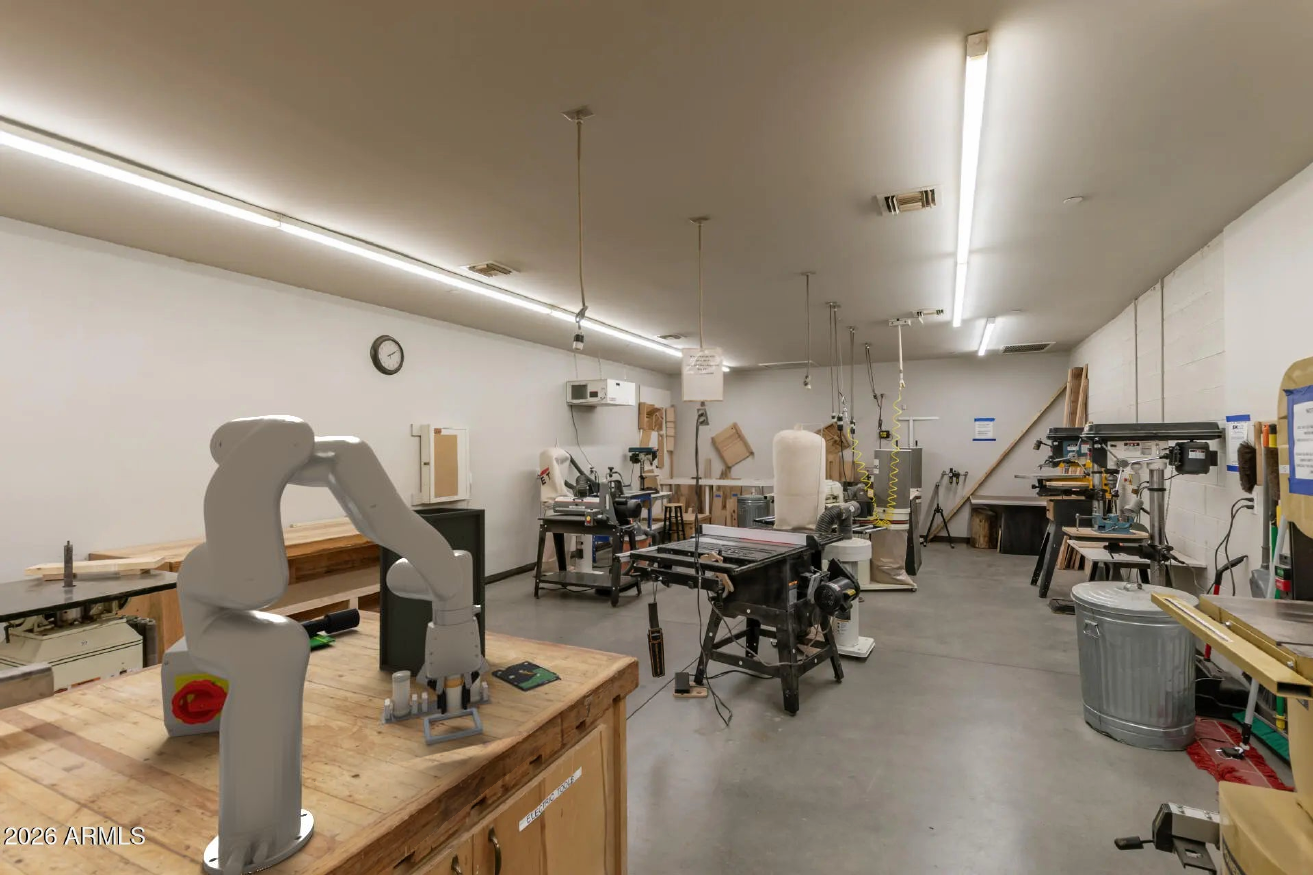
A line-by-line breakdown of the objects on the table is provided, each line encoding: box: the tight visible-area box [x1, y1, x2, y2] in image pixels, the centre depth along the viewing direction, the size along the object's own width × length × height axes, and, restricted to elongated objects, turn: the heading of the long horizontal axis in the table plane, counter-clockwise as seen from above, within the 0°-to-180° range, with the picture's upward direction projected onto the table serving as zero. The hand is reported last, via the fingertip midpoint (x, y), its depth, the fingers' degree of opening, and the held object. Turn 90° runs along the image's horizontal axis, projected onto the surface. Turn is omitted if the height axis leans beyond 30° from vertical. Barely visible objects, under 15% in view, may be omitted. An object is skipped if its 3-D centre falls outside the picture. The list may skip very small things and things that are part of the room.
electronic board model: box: [297, 607, 361, 649], centre depth 163 cm, size 30×7×15 cm
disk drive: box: [491, 660, 562, 692], centre depth 133 cm, size 10×3×15 cm
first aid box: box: [378, 506, 486, 679], centre depth 147 cm, size 18×18×40 cm
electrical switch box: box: [160, 635, 229, 738], centre depth 111 cm, size 15×15×20 cm
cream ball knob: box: [470, 672, 481, 703], centre depth 120 cm, size 3×3×8 cm
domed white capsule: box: [391, 671, 411, 717], centre depth 114 cm, size 3×3×8 cm
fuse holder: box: [381, 681, 492, 725], centre depth 117 cm, size 7×21×4 cm, turn 115°
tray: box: [423, 707, 484, 746], centre depth 108 cm, size 10×10×2 cm
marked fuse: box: [444, 674, 464, 718], centre depth 108 cm, size 3×3×8 cm
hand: (453, 708), depth 108 cm, fingers closed on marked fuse, 3 cm apart
